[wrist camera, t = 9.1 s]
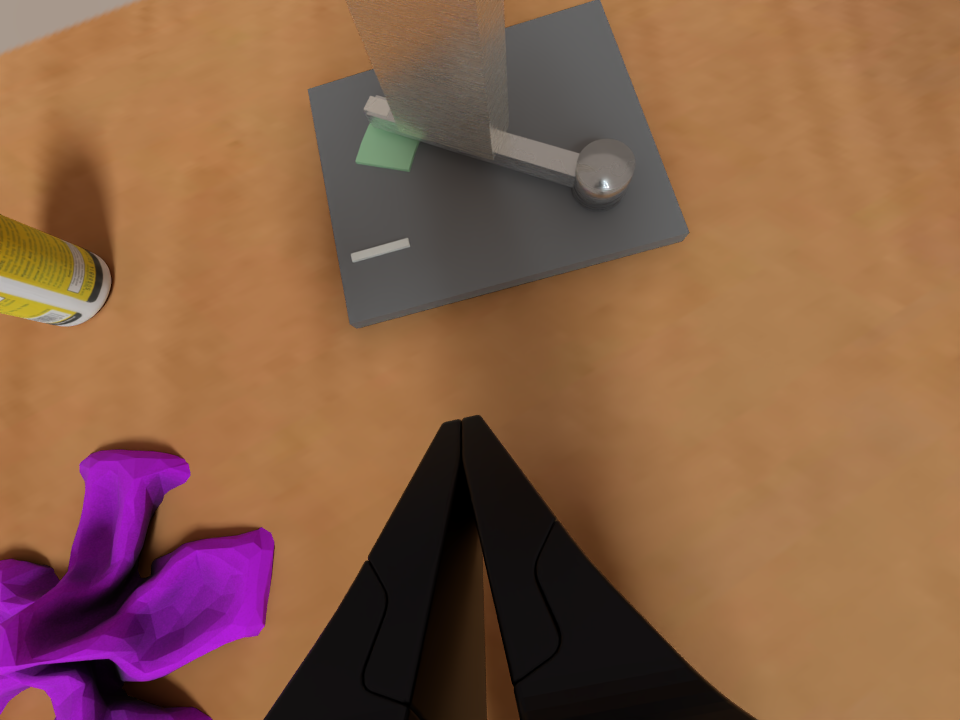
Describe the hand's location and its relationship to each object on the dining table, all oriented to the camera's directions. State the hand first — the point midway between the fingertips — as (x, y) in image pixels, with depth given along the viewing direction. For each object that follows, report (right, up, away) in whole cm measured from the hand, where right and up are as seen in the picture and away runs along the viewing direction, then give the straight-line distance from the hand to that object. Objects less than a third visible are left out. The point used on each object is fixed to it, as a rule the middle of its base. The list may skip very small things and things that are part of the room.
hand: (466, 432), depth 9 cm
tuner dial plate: (0, +14, +16) cm, 22 cm away
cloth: (-20, -14, +14) cm, 28 cm away
